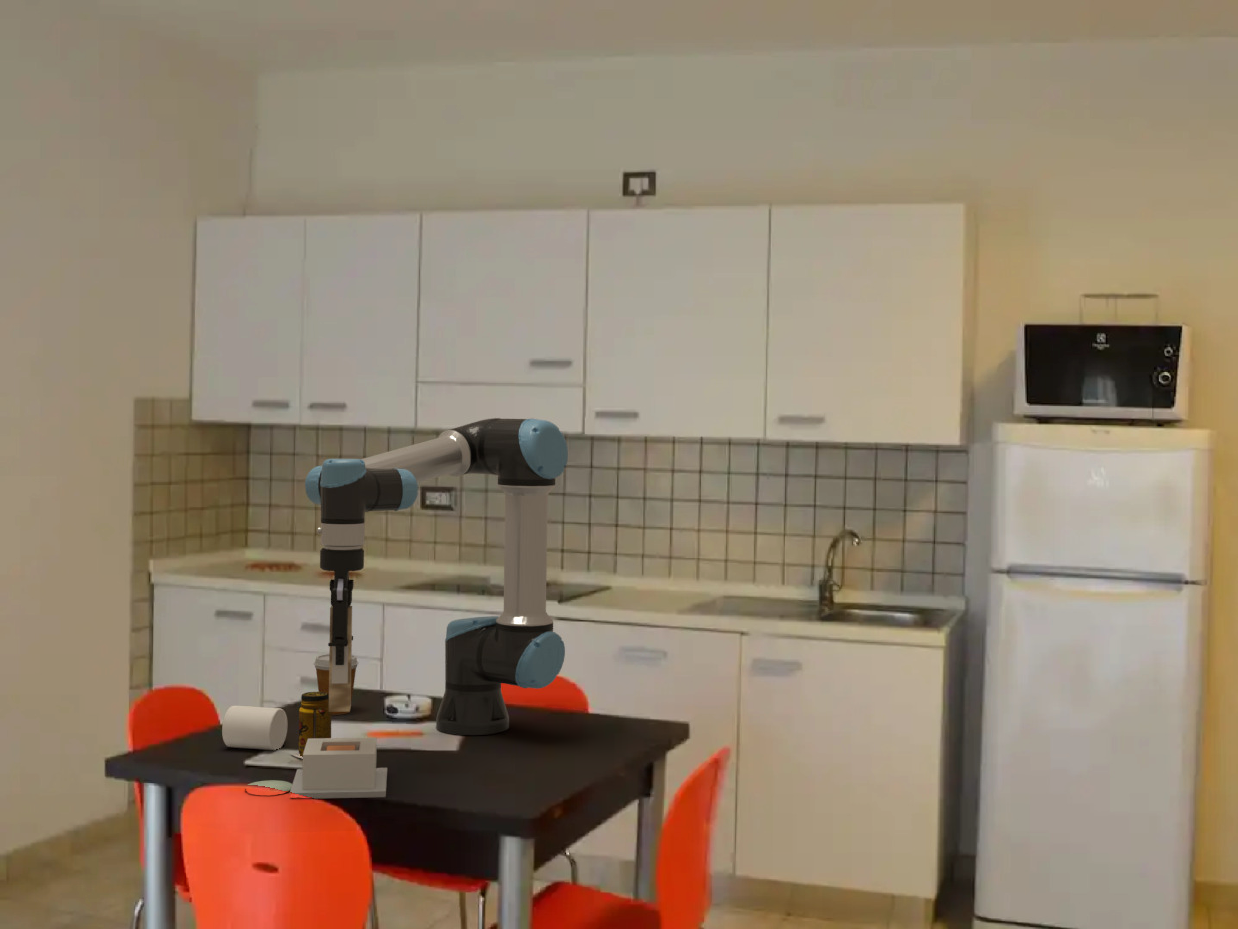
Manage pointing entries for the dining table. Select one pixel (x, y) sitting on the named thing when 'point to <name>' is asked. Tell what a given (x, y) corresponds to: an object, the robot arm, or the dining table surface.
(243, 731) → the mug
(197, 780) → the dining table surface
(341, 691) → the beige wooden block
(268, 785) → the coaster
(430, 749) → the dining table surface
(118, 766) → the dining table surface
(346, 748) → the button
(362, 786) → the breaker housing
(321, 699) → the condiment
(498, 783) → the dining table surface
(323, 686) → the disposable coffee cup
